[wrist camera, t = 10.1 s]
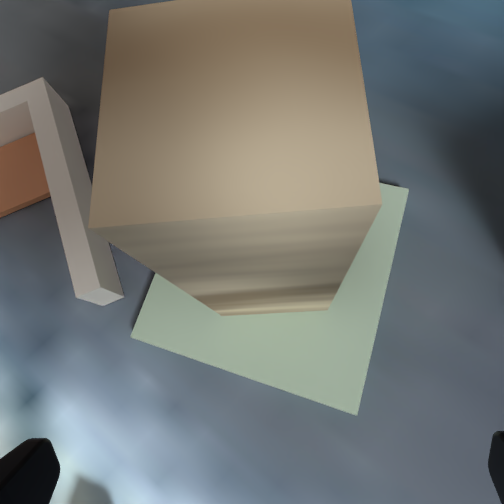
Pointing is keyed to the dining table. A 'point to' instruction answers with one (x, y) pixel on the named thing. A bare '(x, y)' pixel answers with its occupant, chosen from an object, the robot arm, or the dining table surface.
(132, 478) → the dining table surface
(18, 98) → the channel
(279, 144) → the block
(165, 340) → the mat
